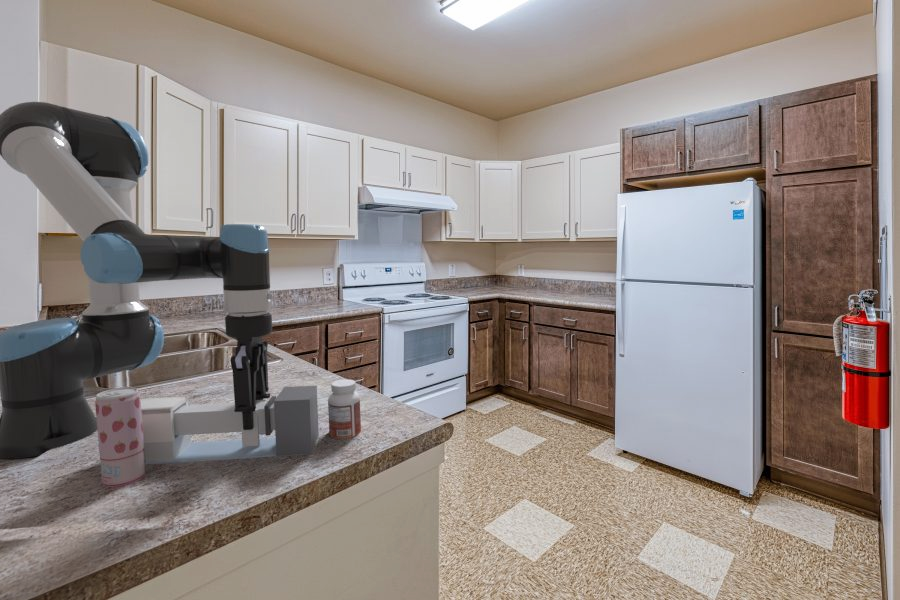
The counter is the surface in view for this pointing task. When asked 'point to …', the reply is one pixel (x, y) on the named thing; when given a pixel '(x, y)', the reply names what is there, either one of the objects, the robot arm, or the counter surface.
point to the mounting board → (225, 451)
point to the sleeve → (162, 428)
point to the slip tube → (219, 418)
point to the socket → (296, 420)
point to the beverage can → (120, 436)
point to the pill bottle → (344, 410)
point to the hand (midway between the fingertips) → (255, 439)
